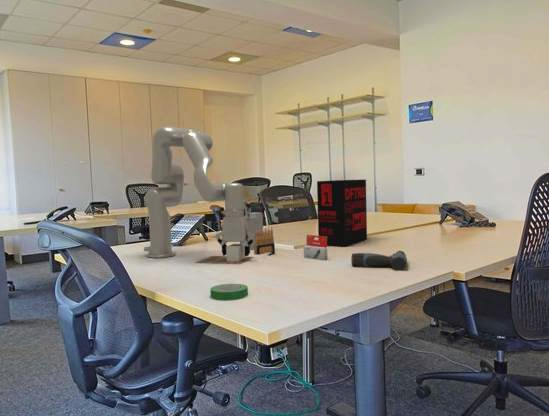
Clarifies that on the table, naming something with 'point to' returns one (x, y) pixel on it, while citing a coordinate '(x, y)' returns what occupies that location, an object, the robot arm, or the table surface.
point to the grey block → (235, 252)
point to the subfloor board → (221, 260)
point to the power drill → (379, 260)
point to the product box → (342, 211)
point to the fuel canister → (253, 223)
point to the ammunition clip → (264, 242)
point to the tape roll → (229, 291)
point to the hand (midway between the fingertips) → (235, 255)
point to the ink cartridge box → (316, 248)
